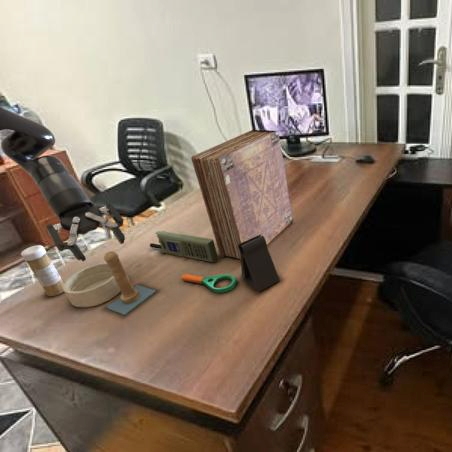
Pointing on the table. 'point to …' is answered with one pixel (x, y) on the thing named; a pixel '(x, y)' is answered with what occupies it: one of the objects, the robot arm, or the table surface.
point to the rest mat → (126, 308)
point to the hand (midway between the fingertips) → (104, 250)
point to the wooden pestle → (121, 278)
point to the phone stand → (257, 263)
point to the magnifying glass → (214, 279)
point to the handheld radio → (186, 246)
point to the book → (244, 189)
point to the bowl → (91, 286)
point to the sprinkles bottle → (43, 269)
